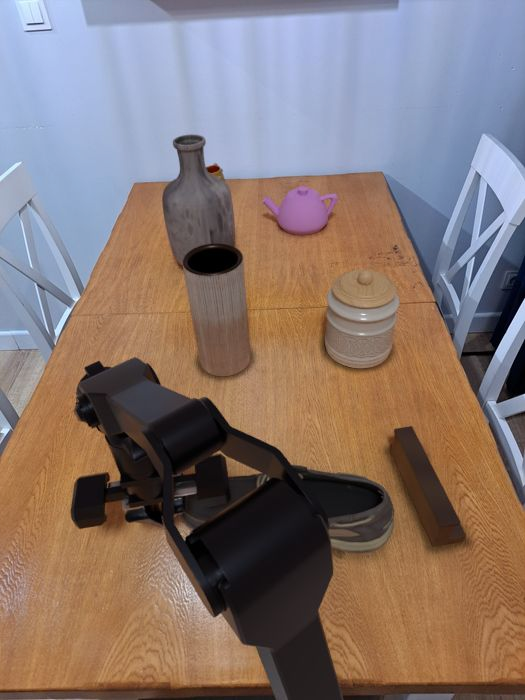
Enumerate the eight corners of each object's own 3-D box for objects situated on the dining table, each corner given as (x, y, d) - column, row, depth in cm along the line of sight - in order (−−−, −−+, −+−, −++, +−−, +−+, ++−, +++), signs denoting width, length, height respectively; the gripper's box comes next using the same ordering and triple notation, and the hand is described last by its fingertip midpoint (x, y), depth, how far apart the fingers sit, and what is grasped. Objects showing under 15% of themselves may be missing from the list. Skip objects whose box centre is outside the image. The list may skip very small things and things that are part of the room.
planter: (192, 353, 97) (173, 252, 82) (237, 336, 100) (227, 237, 85) (212, 384, 90) (195, 281, 75) (259, 365, 94) (253, 263, 78)
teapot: (264, 214, 141) (263, 177, 134) (334, 213, 139) (336, 176, 132) (261, 237, 130) (260, 200, 123) (337, 237, 129) (339, 198, 122)
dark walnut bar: (463, 541, 66) (474, 519, 62) (431, 547, 66) (440, 526, 62) (416, 447, 78) (423, 423, 74) (389, 451, 78) (394, 428, 74)
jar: (333, 321, 103) (338, 247, 91) (395, 333, 99) (409, 257, 87) (316, 362, 94) (319, 285, 82) (385, 376, 90) (398, 298, 78)
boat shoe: (190, 483, 75) (180, 439, 68) (384, 485, 73) (394, 440, 66) (178, 552, 67) (165, 511, 60) (396, 556, 65) (408, 515, 58)
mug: (223, 194, 152) (221, 173, 147) (202, 194, 153) (199, 173, 148) (230, 178, 161) (228, 158, 156) (209, 178, 161) (207, 158, 157)
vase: (247, 272, 118) (237, 145, 98) (182, 288, 114) (159, 159, 94) (226, 242, 130) (214, 122, 110) (167, 255, 126) (143, 134, 106)
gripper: (215, 390, 62) (227, 463, 72) (65, 413, 60) (99, 484, 71) (225, 462, 54) (236, 532, 64) (51, 491, 52) (92, 558, 62)
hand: (164, 523), depth 66 cm, fingers closed
